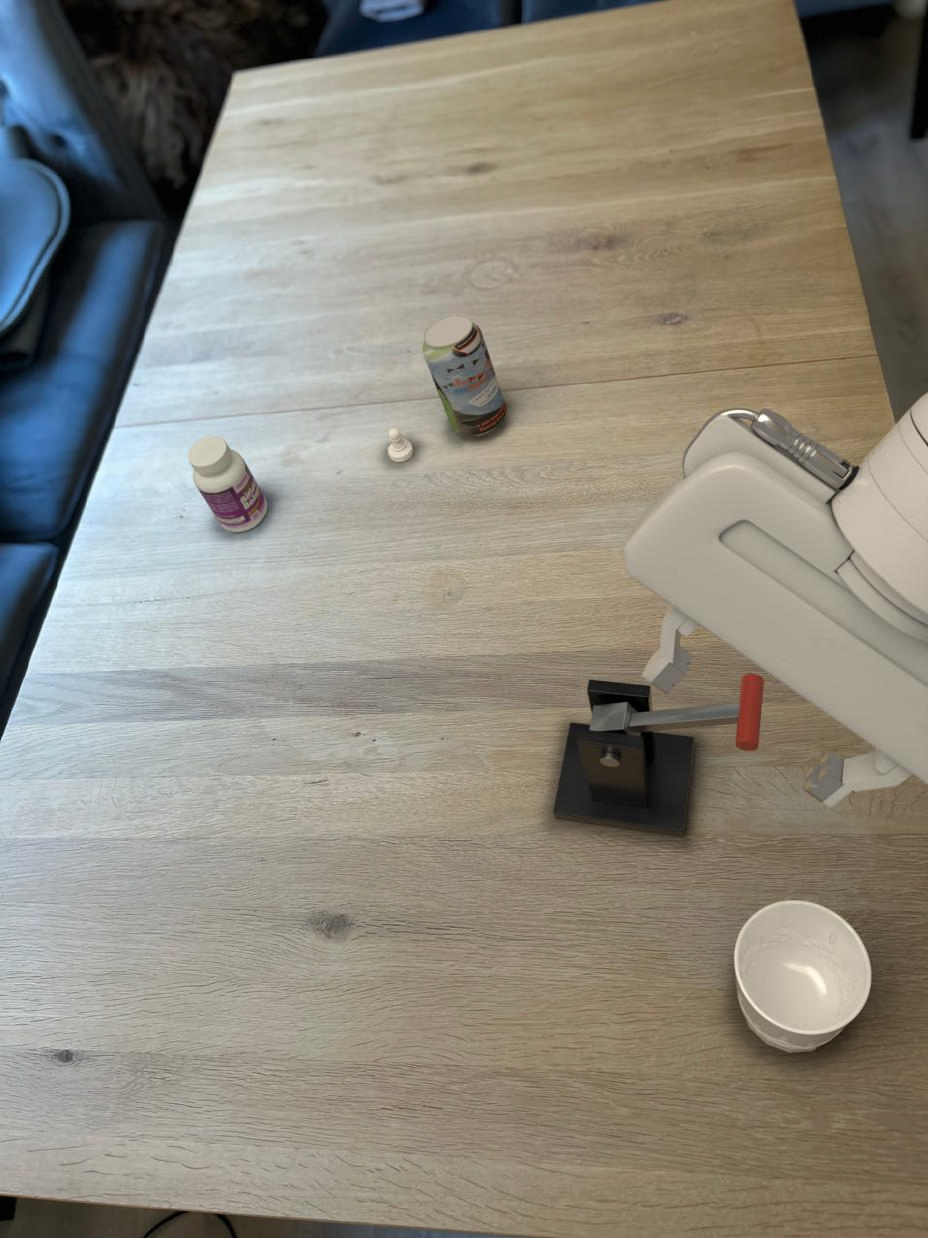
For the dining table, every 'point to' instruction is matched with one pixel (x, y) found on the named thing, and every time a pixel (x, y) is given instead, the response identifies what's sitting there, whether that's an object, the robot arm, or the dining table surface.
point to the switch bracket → (625, 770)
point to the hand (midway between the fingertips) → (735, 735)
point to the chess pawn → (399, 446)
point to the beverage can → (464, 375)
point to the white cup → (800, 974)
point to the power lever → (689, 716)
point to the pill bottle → (226, 484)
